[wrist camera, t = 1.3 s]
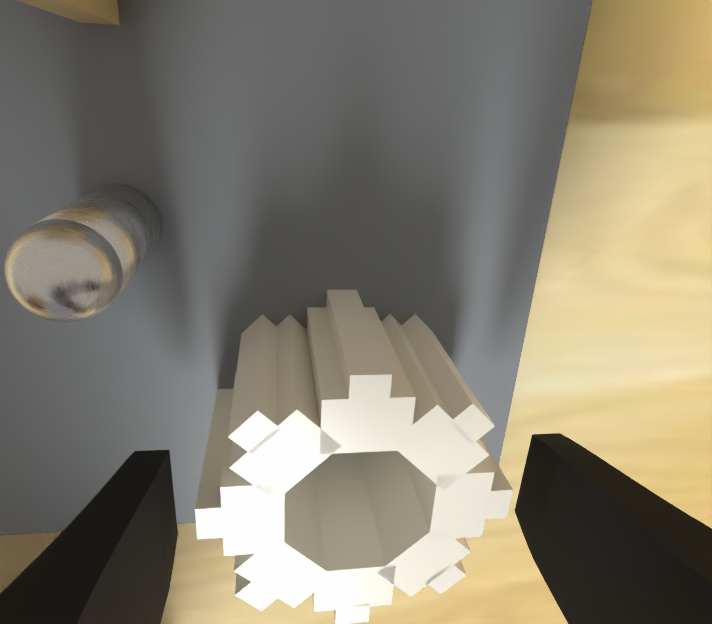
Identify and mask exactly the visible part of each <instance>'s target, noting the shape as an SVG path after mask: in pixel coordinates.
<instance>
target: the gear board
mask: <svg viewBox="0 0 712 624" xmlns="http://www.w3.org/2000/svg"><path fill="white" fill-rule="evenodd" d="M591 5H592V0H0V535H12V534H28V533H43V532H58V531H63V530H64V529H65V528H66V527H67V526H68V525H69V524H70V523H71V522H72V521H73V519H74V518H75V517H76V516H77V515H78V514H79V513H80V512H81V511H82V510H83V509H84V508H85V507H86V505H87V504H88V503H89V502H90V501H91V500H92V499H93V497H94V496H95V495H96V494H97V493H98V492H99V491H100V490H101V488H102V487H103V486H104V485H105V484H106V483H107V482H108V480H109V479H110V478H111V477H112V476H113V475H114V473H115V472H116V471H117V470H118V469H119V468H120V466H121V465H122V464H123V463H124V462H125V461H126V459H127V458H128V457H129V456H130V455H131V454H132V453H133V452H134V451H148V450H169V451H170V461H171V471H172V481H173V491H174V500H175V510H176V520H177V524H181V523H196V518H195V506H196V500H197V495H198V490H199V484H200V479H201V474H202V468H203V463H204V458H205V452H206V447H207V442H208V436H209V431H210V426H211V420H212V415H213V410H214V404H215V399H216V394H217V389H233V388H234V381H235V373H236V371H237V364H238V356H239V348H240V341H241V334H242V333H243V332H244V331H245V330H246V329H247V328H248V327H249V326H250V325H251V324H252V323H253V322H255V321H256V320H257V319H258V318H259V317H260V316H261V315H262V314H263V315H264V316H265V317H266V318H267V319H269V320H270V321H271V322H272V323H273V324H274V325H275V326H277V325H278V324H280V323H281V322H282V321H283V320H284V319H285V318H286V317H287V316H288V315H289V314H290V315H292V316H293V317H294V318H295V319H296V320H297V321H298V322H299V323H300V324H301V325H302V326H304V327H305V328H306V329H307V307H326V303H327V290H357V292H358V294H359V296H360V299H361V301H362V304H363V306H364V307H374V308H375V310H376V312H377V314H378V317H379V319H380V321H382V320H383V319H384V318H385V317H387V316H388V315H389V314H391V315H392V316H393V317H394V318H395V319H396V320H397V321H398V322H399V323H400V324H401V325H403V324H404V323H405V322H406V321H407V320H408V319H410V318H411V317H412V316H413V315H414V314H416V315H417V316H418V317H419V318H420V319H421V320H422V321H423V322H424V323H425V324H426V325H427V326H428V327H429V328H430V329H431V330H432V331H433V333H434V334H435V336H436V337H437V339H438V341H439V342H440V344H441V345H442V347H443V348H444V350H445V351H446V353H447V354H448V356H449V357H450V359H451V360H452V362H453V363H454V365H455V366H456V368H457V369H458V371H459V372H460V374H461V375H462V377H463V378H464V380H465V381H466V383H467V384H468V386H469V387H470V389H471V391H472V392H473V394H474V395H475V397H476V398H477V400H478V401H479V403H480V404H481V406H482V407H483V409H484V410H485V412H486V413H487V415H488V416H489V418H490V419H491V421H492V422H493V424H494V425H495V427H493V428H492V429H491V430H490V431H488V432H487V433H486V434H485V435H483V436H482V439H483V441H484V442H485V444H486V446H487V447H488V449H489V451H490V452H491V454H492V456H493V457H494V459H495V461H496V462H497V464H498V466H499V461H500V456H501V451H502V446H503V441H504V436H505V431H506V426H507V421H508V416H509V411H510V406H511V401H512V396H513V391H514V386H515V381H516V376H517V371H518V367H519V362H520V357H521V352H522V347H523V342H524V337H525V332H526V327H527V322H528V317H529V312H530V307H531V302H532V297H533V292H534V287H535V282H536V277H537V272H538V267H539V263H540V258H541V253H542V248H543V243H544V238H545V233H546V228H547V223H548V218H549V213H550V208H551V203H552V198H553V193H554V188H555V183H556V178H557V173H558V168H559V163H560V158H561V154H562V149H563V144H564V139H565V134H566V129H567V124H568V119H569V114H570V109H571V104H572V99H573V94H574V89H575V84H576V79H577V74H578V69H579V64H580V59H581V54H582V49H583V45H584V40H585V35H586V30H587V25H588V20H589V15H590V10H591ZM115 183H119V184H126V185H130V186H133V187H135V188H138V189H139V190H141V191H143V192H144V193H145V194H147V195H148V196H149V197H150V198H151V199H152V200H153V201H154V203H155V204H156V206H157V207H158V209H159V211H160V214H161V217H162V222H163V231H162V235H161V238H160V241H159V242H158V244H157V246H156V247H155V248H154V250H153V251H152V252H151V254H150V255H149V256H148V257H147V259H146V260H145V261H144V263H143V264H142V265H141V267H140V268H139V269H138V271H137V272H136V273H135V275H134V276H133V277H132V279H131V280H130V281H129V283H128V284H127V285H126V287H125V288H124V289H123V291H122V292H121V293H120V295H119V296H118V297H117V299H116V300H115V301H114V302H113V304H112V305H111V306H110V307H109V308H107V309H106V310H105V311H104V312H102V313H101V314H99V315H97V316H95V317H93V318H91V319H88V320H85V321H81V322H76V323H58V322H52V321H48V320H45V319H42V318H39V317H37V316H35V315H33V314H32V313H30V312H28V311H27V310H26V309H24V308H23V307H22V306H21V305H20V304H19V303H18V302H17V301H16V300H15V298H14V297H13V296H12V294H11V292H10V290H9V288H8V286H7V283H6V280H5V274H4V262H5V257H6V254H7V251H8V249H9V247H10V245H11V243H12V242H13V241H14V239H15V238H16V237H17V236H18V235H19V234H20V233H21V232H22V231H23V230H25V229H26V228H28V227H29V226H31V225H32V224H34V223H36V222H38V221H40V220H41V219H43V218H45V217H47V216H49V215H50V214H52V213H54V212H56V211H58V210H59V209H61V208H63V207H65V206H67V205H68V204H70V203H72V202H74V201H76V200H77V199H79V198H81V197H83V196H85V195H86V194H88V193H90V192H92V191H94V190H95V189H97V188H99V187H101V186H104V185H107V184H115Z"/></svg>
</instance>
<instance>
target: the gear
mask: <svg viewBox="0 0 712 624" xmlns="http://www.w3.org/2000/svg"><path fill="white" fill-rule="evenodd" d="M493 427H495V425H494V424H493V422H492V421H491V419H490V418H489V416H488V415H487V413H486V412H485V410H484V409H483V407H482V406H481V404H480V403H479V401H478V400H477V398H476V397H475V395H474V394H473V392H472V391H471V389H470V387H469V386H468V384H467V383H466V381H465V380H464V378H463V377H462V375H461V374H460V372H459V371H458V369H457V368H456V366H455V365H454V363H453V362H452V360H451V359H450V357H449V356H448V354H447V353H446V351H445V350H444V348H443V347H442V345H441V344H440V342H439V341H438V339H437V337H436V336H435V334H434V333H433V331H432V330H431V329H430V328H429V327H428V326H427V325H426V324H425V323H424V322H423V321H422V320H421V319H420V318H419V317H418V316H417V315H416V314H414V315H413V316H412V317H411V318H410V319H408V320H407V321H406V322H405V323H404V324H403V325H401V324H400V323H399V322H398V321H397V320H396V319H395V318H394V317H393V316H392V315H391V314H389V315H388V316H387V317H385V318H384V319H383V320H382V321H380V319H379V317H378V314H377V312H376V310H375V308H374V307H364V306H363V304H362V301H361V299H360V296H359V294H358V292H357V290H327V303H326V307H307V329H306V328H305V327H304V326H302V325H301V324H300V323H299V322H298V321H297V320H296V319H295V318H294V317H293V316H292V315H290V314H289V315H288V316H287V317H286V318H285V319H284V320H283V321H282V322H281V323H280V324H278V325H277V326H275V325H274V324H273V323H272V322H271V321H270V320H269V319H267V318H266V317H265V316H264V315H263V314H262V315H261V316H260V317H259V318H258V319H257V320H256V321H255V322H253V323H252V324H251V325H250V326H249V327H248V328H247V329H246V330H245V331H244V332H243V333H242V334H241V341H240V348H239V356H238V364H237V371H236V373H235V381H234V388H233V389H217V394H216V399H215V404H214V410H213V415H212V420H211V426H210V431H209V436H208V442H207V447H206V452H205V458H204V463H203V468H202V474H201V479H200V484H199V490H198V495H197V500H196V506H195V518H196V530H197V539H210V538H223V547H224V556H230V555H235V565H234V571H235V572H236V573H237V577H236V590H235V595H236V596H237V597H239V598H241V599H242V600H244V601H246V602H248V603H249V604H251V605H253V606H254V607H256V608H258V609H259V610H261V611H262V610H263V609H264V608H266V607H267V606H268V605H270V604H271V603H272V602H273V601H275V600H276V599H277V598H279V599H280V600H282V601H284V602H285V603H287V604H289V605H290V606H292V607H296V606H297V605H298V604H299V603H301V602H302V601H303V600H305V599H306V598H307V597H308V596H310V595H311V594H313V606H314V612H316V611H327V610H334V619H335V624H349V623H359V622H368V621H369V611H370V606H380V605H391V603H392V594H393V586H394V585H395V586H396V587H398V588H399V589H400V590H402V591H403V592H405V593H406V594H408V595H409V596H410V597H412V596H413V595H414V594H416V593H417V592H418V591H420V590H421V589H422V588H424V587H425V586H426V585H429V586H430V587H431V588H433V589H434V590H436V591H437V592H438V593H440V594H442V593H443V592H444V591H446V590H447V589H448V588H450V587H451V586H452V585H454V584H455V583H456V582H458V581H459V580H460V579H462V578H463V577H465V576H466V573H465V570H464V568H463V565H462V563H461V559H462V558H464V557H465V556H466V555H468V554H469V553H470V552H471V551H470V549H469V546H468V544H467V542H466V539H465V538H469V537H482V533H483V528H484V523H485V519H496V518H507V515H508V510H509V506H510V501H511V496H512V492H513V489H512V487H511V486H510V484H509V482H508V481H507V479H506V477H505V476H504V474H503V472H502V471H501V469H500V467H499V466H498V464H497V462H496V461H495V459H494V457H493V456H492V454H491V452H490V451H489V449H488V447H487V446H486V444H485V442H484V441H483V439H482V436H483V435H485V434H486V433H487V432H488V431H490V430H491V429H492V428H493Z"/></svg>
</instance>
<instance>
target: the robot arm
mask: <svg viewBox="0 0 712 624" xmlns="http://www.w3.org/2000/svg"><path fill="white" fill-rule="evenodd" d="M515 513H516V516H517V518H518V521H519V524H520V526H521V529H522V532H523V534H524V537H525V540H526V542H527V544H528V547H529V549H530V552H531V554H532V557H533V559H534V561H535V563H536V565H537V567H538V568H539V570H540V572H541V574H542V576H543V578H544V580H545V582H546V583H547V585H548V587H549V589H550V591H551V593H552V595H553V596H554V598H555V600H556V602H557V604H558V606H559V607H560V609H561V611H562V613H563V615H564V617H565V618H566V620H567V622H568V624H712V529H711V528H710V527H708V526H706V525H705V524H703V523H701V522H700V521H698V520H696V519H695V518H693V517H691V516H689V515H688V514H686V513H685V512H683V511H681V510H680V509H678V508H676V507H675V506H673V505H672V504H670V503H668V502H667V501H665V500H664V499H662V498H661V497H659V496H657V495H656V494H654V493H653V492H651V491H650V490H648V489H647V488H645V487H643V486H642V485H640V484H639V483H637V482H636V481H634V480H633V479H631V478H630V477H628V476H627V475H625V474H623V473H622V472H620V471H619V470H617V469H616V468H614V467H613V466H611V465H610V464H608V463H607V462H605V461H604V460H602V459H601V458H599V457H598V456H596V455H594V454H593V453H591V452H590V451H588V450H587V449H585V448H584V447H582V446H580V445H579V444H577V443H576V442H574V441H572V440H571V439H569V438H567V437H565V436H564V435H562V434H560V433H558V434H534V435H532V438H531V443H530V447H529V451H528V456H527V460H526V464H525V469H524V473H523V477H522V482H521V486H520V490H519V495H518V499H517V503H516V508H515ZM177 535H178V530H177V520H176V510H175V500H174V491H173V481H172V471H171V461H170V451H169V450H148V451H134V452H133V453H132V454H131V455H130V456H129V457H128V458H127V459H126V461H125V462H124V463H123V464H122V465H121V466H120V468H119V469H118V470H117V471H116V472H115V473H114V475H113V476H112V477H111V478H110V479H109V480H108V482H107V483H106V484H105V485H104V486H103V487H102V488H101V490H100V491H99V492H98V493H97V494H96V495H95V496H94V497H93V499H92V500H91V501H90V502H89V503H88V504H87V505H86V507H85V508H84V509H83V510H82V511H81V512H80V513H79V514H78V515H77V516H76V517H75V518H74V519H73V521H72V522H71V523H70V524H69V525H68V526H67V527H66V528H65V529H64V530H63V531H62V532H61V533H60V535H59V536H58V537H57V538H56V539H55V540H54V541H53V542H52V543H51V544H50V545H49V546H48V547H47V548H46V549H45V550H44V551H43V552H42V553H41V554H40V555H39V556H38V557H37V558H36V559H35V560H34V561H33V562H32V563H31V564H30V565H29V566H28V567H27V568H26V569H25V570H24V571H23V572H22V573H21V574H20V575H19V576H18V577H17V578H16V579H15V580H14V581H13V582H12V583H11V584H10V585H9V586H8V587H7V588H6V589H5V590H3V591H2V592H1V593H0V624H160V622H161V618H162V614H163V611H164V607H165V603H166V599H167V595H168V591H169V587H170V581H171V575H172V569H173V562H174V556H175V549H176V542H177Z"/></svg>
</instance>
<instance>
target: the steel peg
mask: <svg viewBox="0 0 712 624" xmlns="http://www.w3.org/2000/svg"><path fill="white" fill-rule="evenodd" d="M162 231H163V222H162V217H161V214H160V211H159V209H158V207H157V206H156V204H155V203H154V201H153V200H152V199H151V198H150V197H149V196H148V195H147V194H145V193H144V192H143V191H141V190H139V189H138V188H135V187H133V186H130V185H126V184H119V183H115V184H107V185H104V186H101V187H99V188H97V189H95V190H94V191H92V192H90V193H88V194H86V195H85V196H83V197H81V198H79V199H77V200H76V201H74V202H72V203H70V204H68V205H67V206H65V207H63V208H61V209H59V210H58V211H56V212H54V213H52V214H50V215H49V216H47V217H45V218H43V219H41V220H40V221H38V222H36V223H34V224H32V225H31V226H29V227H28V228H26V229H25V230H23V231H22V232H21V233H20V234H19V235H18V236H17V237H16V238H15V239H14V241H13V242H12V243H11V245H10V247H9V249H8V251H7V254H6V257H5V262H4V274H5V280H6V283H7V286H8V288H9V290H10V292H11V294H12V296H13V297H14V298H15V300H16V301H17V302H18V303H19V304H20V305H21V306H22V307H23V308H24V309H26V310H27V311H28V312H30V313H32V314H33V315H35V316H37V317H39V318H42V319H45V320H48V321H52V322H58V323H76V322H81V321H85V320H88V319H91V318H93V317H95V316H97V315H99V314H101V313H102V312H104V311H105V310H106V309H107V308H109V307H110V306H111V305H112V304H113V302H114V301H115V300H116V299H117V297H118V296H119V295H120V293H121V292H122V291H123V289H124V288H125V287H126V285H127V284H128V283H129V281H130V280H131V279H132V277H133V276H134V275H135V273H136V272H137V271H138V269H139V268H140V267H141V265H142V264H143V263H144V261H145V260H146V259H147V257H148V256H149V255H150V254H151V252H152V251H153V250H154V248H155V247H156V246H157V244H158V242H159V241H160V238H161V235H162Z"/></svg>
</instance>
